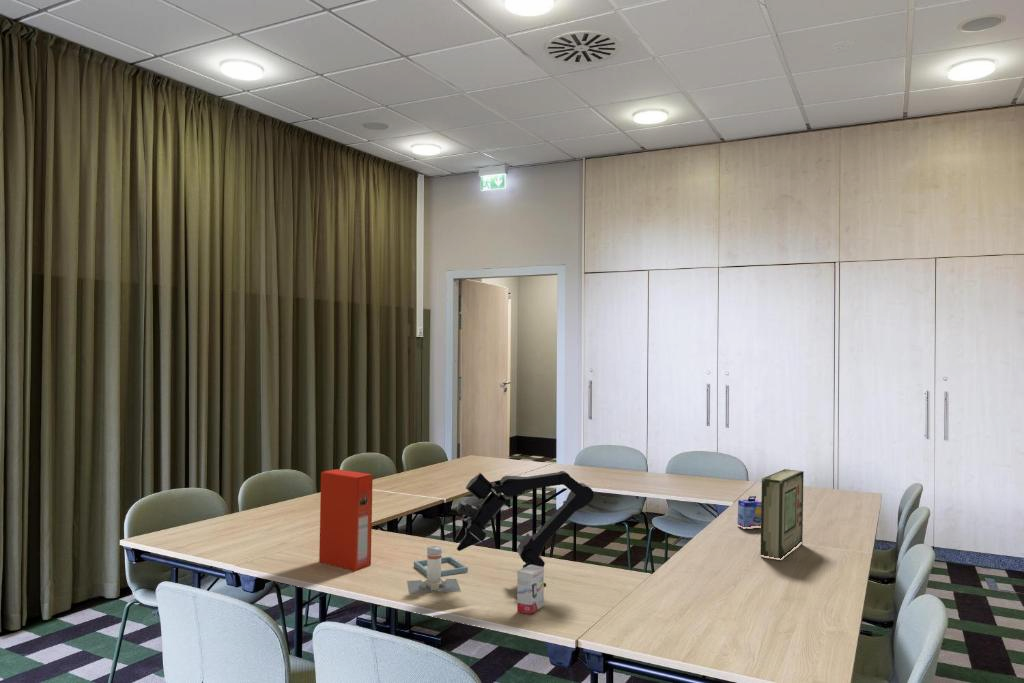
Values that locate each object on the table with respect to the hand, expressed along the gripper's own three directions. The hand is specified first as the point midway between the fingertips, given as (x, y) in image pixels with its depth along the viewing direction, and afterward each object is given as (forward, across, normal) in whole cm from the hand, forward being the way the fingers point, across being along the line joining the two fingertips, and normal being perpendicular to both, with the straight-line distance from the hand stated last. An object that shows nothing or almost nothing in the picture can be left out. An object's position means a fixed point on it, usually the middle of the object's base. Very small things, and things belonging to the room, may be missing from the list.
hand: (456, 545), depth 223 cm
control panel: (-76, -30, +108) cm, 136 cm away
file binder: (+34, -27, -19) cm, 48 cm away
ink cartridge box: (-79, -65, +112) cm, 152 cm away
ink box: (-3, +21, +24) cm, 32 cm away
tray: (+12, -16, +6) cm, 21 cm away
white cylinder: (+14, +1, +2) cm, 14 cm away
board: (+15, +1, +3) cm, 15 cm away
